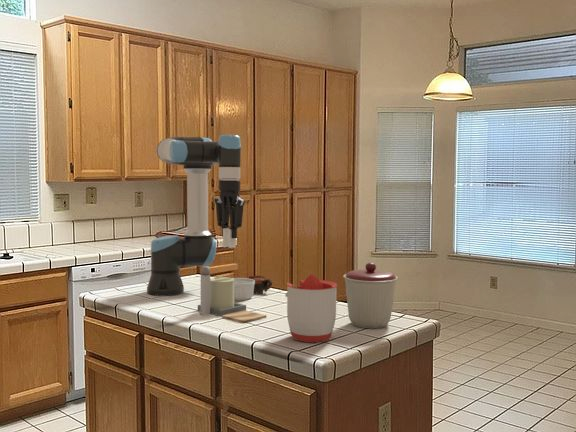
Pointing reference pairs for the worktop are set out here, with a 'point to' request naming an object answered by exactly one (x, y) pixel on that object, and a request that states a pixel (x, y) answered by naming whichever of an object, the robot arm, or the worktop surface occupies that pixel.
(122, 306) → the worktop surface
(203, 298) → the socket
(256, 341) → the worktop surface
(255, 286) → the pottery mug
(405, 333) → the worktop surface
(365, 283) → the canister
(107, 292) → the worktop surface
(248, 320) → the plate
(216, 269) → the orange bar
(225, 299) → the can
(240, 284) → the ramekin
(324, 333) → the citrus juicer
